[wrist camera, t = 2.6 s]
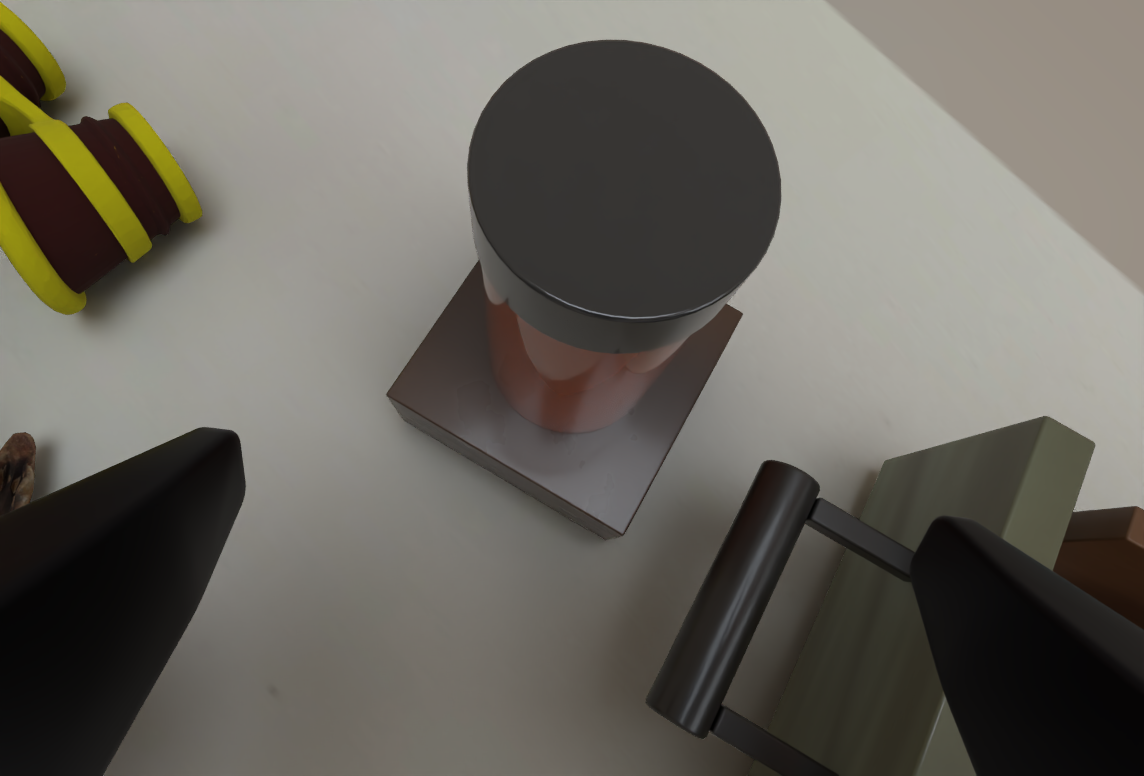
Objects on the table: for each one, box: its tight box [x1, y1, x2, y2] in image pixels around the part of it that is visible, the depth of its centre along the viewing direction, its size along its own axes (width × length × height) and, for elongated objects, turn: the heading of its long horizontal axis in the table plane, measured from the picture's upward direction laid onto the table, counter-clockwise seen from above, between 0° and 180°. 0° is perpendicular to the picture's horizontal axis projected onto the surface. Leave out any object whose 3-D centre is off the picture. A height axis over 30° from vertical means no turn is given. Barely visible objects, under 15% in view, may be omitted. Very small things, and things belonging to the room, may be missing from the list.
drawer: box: [646, 416, 1144, 776], centre depth 15 cm, size 15×12×6 cm
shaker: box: [467, 40, 781, 433], centre depth 14 cm, size 5×5×8 cm
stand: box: [386, 260, 743, 540], centre depth 19 cm, size 7×7×3 cm
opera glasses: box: [0, 2, 202, 315], centre depth 19 cm, size 10×5×5 cm, turn 52°
